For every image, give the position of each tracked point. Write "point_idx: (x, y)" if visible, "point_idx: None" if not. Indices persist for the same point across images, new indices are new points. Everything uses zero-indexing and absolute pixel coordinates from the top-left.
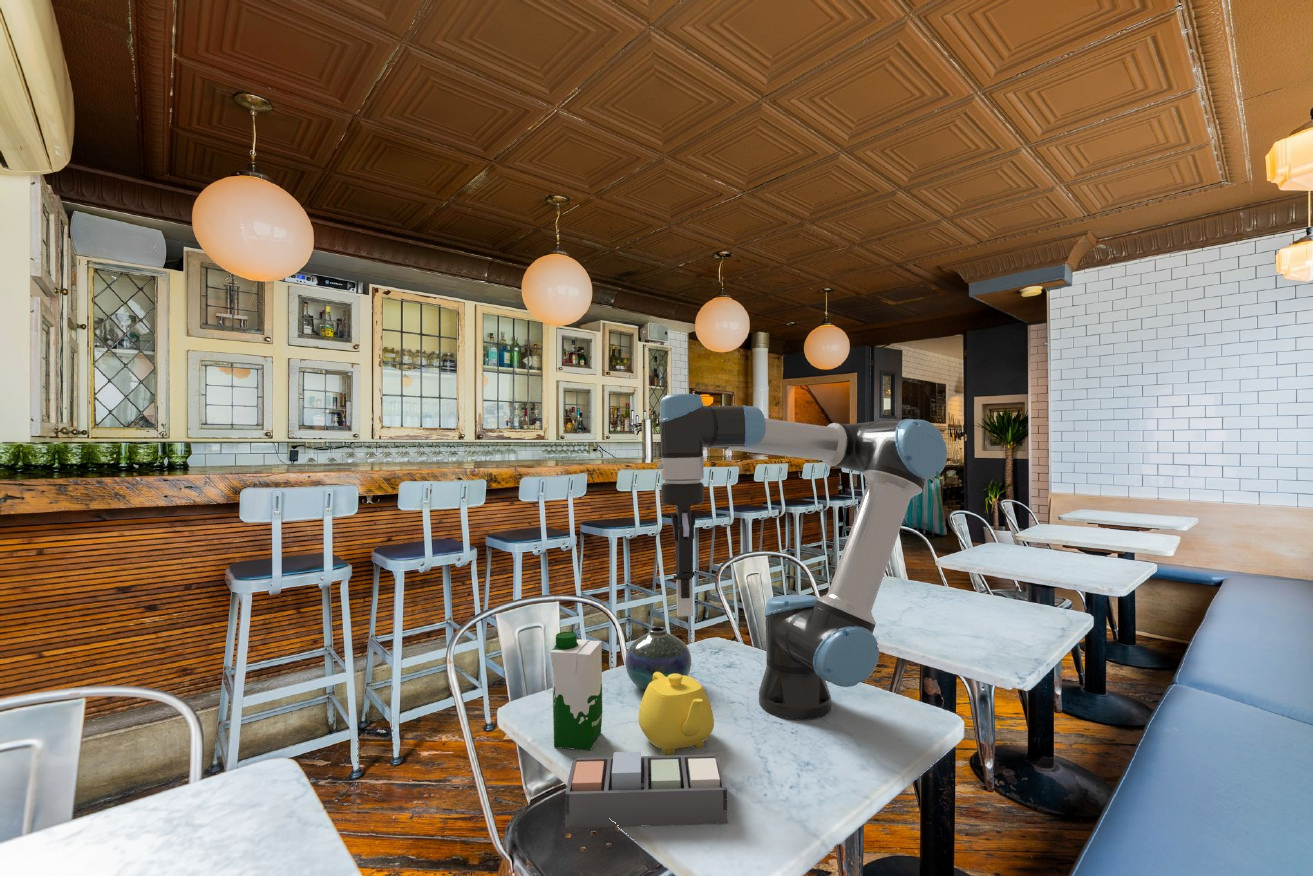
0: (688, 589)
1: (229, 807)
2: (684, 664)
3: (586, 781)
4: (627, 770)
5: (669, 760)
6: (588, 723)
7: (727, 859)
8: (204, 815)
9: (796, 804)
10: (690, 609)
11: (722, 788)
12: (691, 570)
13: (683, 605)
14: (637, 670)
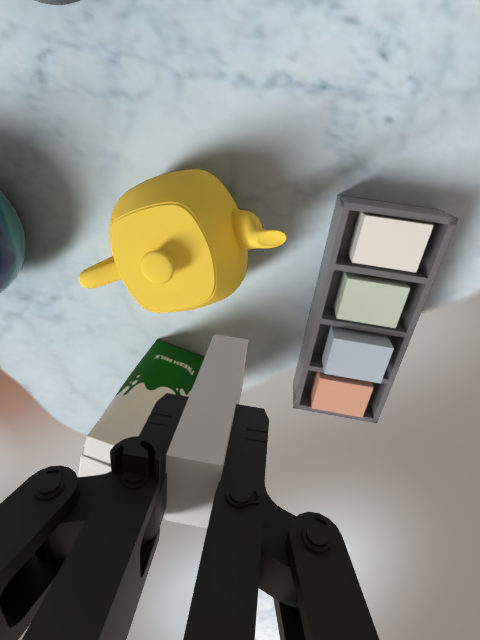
0: (265, 449)
1: None
2: None
3: (365, 403)
4: (382, 364)
5: (347, 292)
6: (194, 380)
7: None
8: (261, 607)
9: (436, 67)
10: (244, 363)
11: (451, 225)
12: (357, 595)
13: (238, 399)
14: (3, 287)
